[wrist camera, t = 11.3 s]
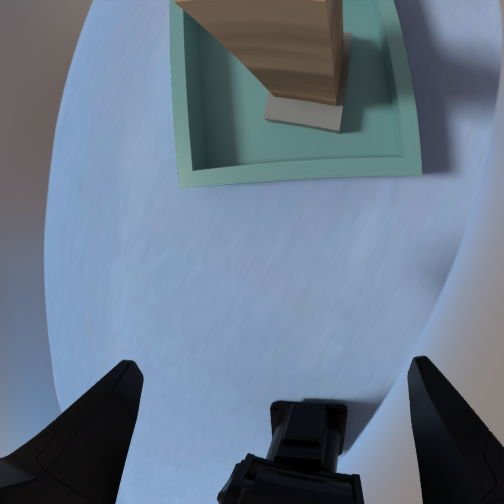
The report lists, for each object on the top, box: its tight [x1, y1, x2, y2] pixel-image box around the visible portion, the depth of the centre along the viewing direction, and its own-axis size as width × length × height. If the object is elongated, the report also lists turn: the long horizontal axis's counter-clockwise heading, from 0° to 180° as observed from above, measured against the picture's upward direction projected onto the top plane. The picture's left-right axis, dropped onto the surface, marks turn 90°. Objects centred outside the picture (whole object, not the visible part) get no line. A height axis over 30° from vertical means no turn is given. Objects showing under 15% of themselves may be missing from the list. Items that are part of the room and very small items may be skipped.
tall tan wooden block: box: [174, 0, 352, 134], centre depth 11 cm, size 6×4×14 cm
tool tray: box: [170, 0, 422, 189], centre depth 17 cm, size 14×14×4 cm
